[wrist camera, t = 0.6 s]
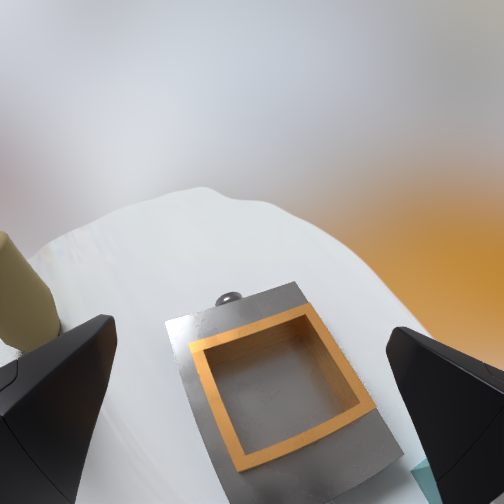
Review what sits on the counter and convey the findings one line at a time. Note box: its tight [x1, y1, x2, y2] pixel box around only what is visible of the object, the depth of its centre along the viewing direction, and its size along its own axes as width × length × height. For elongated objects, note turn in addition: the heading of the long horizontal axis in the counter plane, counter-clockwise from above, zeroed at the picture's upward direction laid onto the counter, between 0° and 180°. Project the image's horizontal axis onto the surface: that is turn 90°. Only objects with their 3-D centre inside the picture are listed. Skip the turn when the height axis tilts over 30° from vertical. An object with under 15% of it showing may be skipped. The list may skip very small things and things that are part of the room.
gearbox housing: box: [166, 281, 404, 504], centre depth 19 cm, size 19×12×6 cm, turn 22°
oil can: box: [411, 458, 491, 504], centre depth 11 cm, size 6×6×11 cm
